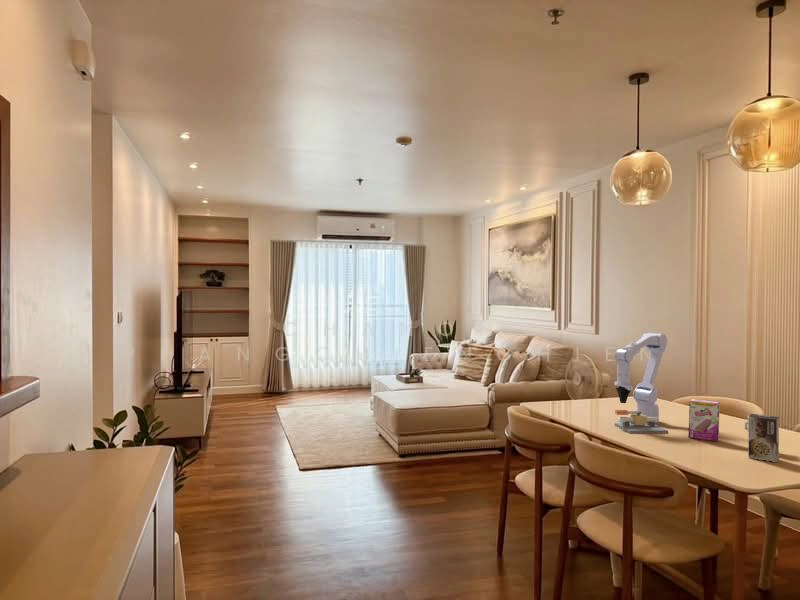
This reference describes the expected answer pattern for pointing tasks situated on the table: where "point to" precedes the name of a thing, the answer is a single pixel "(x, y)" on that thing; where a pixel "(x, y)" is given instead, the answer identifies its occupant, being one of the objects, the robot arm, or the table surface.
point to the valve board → (641, 428)
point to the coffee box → (763, 437)
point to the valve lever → (626, 412)
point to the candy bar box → (704, 420)
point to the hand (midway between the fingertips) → (623, 402)
